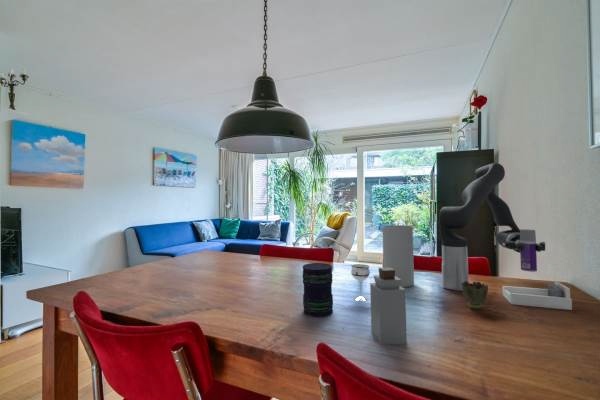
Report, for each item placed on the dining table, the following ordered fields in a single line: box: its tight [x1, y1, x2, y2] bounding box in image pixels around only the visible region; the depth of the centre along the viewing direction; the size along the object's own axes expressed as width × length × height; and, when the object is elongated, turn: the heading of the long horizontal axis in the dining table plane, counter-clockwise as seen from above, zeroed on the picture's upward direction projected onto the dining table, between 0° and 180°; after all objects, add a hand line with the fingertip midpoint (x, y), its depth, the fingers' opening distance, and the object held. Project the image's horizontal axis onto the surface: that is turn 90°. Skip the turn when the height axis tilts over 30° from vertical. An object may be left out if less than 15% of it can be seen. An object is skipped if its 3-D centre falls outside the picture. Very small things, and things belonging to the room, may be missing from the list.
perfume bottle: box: [369, 267, 408, 346], centre depth 73 cm, size 7×7×18 cm
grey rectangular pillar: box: [381, 224, 415, 288], centre depth 123 cm, size 12×12×25 cm
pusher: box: [547, 283, 562, 297], centre depth 95 cm, size 1×7×5 cm, turn 158°
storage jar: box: [302, 262, 334, 318], centre depth 92 cm, size 10×10×15 cm
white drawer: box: [502, 281, 573, 311], centre depth 97 cm, size 16×10×6 cm, turn 68°
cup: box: [462, 281, 489, 310], centre depth 93 cm, size 8×7×8 cm
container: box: [519, 228, 538, 273], centre depth 104 cm, size 5×5×15 cm
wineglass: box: [350, 263, 371, 302], centre depth 104 cm, size 7×7×12 cm
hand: (530, 248), depth 102 cm, fingers closed on container, 4 cm apart
